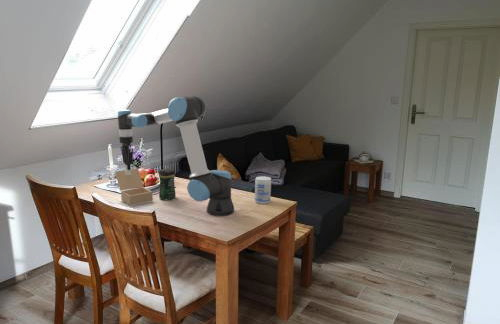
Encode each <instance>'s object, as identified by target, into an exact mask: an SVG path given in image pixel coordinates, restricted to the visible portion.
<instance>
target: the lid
mask: <svg viewBox="0 0 500 324" xmlns="http://www.w3.org/2000/svg"><path fill="white" fill-rule="evenodd" d="M114 173H115V177H116V181H117V184H118V188H119V191H120V192H121V191H125V190H130V189H136V188H141V187H144V184H143V180H142V178H141V175H140V171H139V168H131V175H126V169H123V170H118V171H115V172H114Z"/></svg>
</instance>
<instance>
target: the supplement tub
mask: <svg viewBox="0 0 500 324" xmlns="http://www.w3.org/2000/svg"><path fill="white" fill-rule="evenodd" d="M254 183H255V184H254V202H255V203H257V204H259V203H260V205H261V204H262V205H265V204H269V203H271V195H272V193H271V192H272V178H271V177H269V176H264V175H263V176H256V177H255V181H254Z"/></svg>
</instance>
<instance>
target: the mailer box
mask: <svg viewBox="0 0 500 324" xmlns="http://www.w3.org/2000/svg"><path fill="white" fill-rule="evenodd" d="M120 194H121V195H120V196H121V197H120V198H121V202H122V203H125V204H126V205H127V206H130V207H133V206H137V205H141V204H147V203H152V202H153V200H154V199H153V197H154V195H153V191H151V190H150V189H148V188H145V187H144V186H143V187H139V188H133V189H128V190H122V191H120Z"/></svg>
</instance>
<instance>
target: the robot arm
mask: <svg viewBox="0 0 500 324" xmlns="http://www.w3.org/2000/svg"><path fill="white" fill-rule="evenodd" d="M206 104H207V103H206V102H205V101H204V99H203V98H201V97H200V96H196V95H195V96H179V97H178V96H177V97H174V98H172V99H171V100H170V101H169V104H168V106H167V108H164V109H160V110H157V111H152V112H146V113H132V111H131V110H130V109H119V110H118V111H117V122H118V136H119V143H120V144H121V146H120V151H121V158H122V163H123V164H124V166H125V167H124V170H126V175H131V169H132V168H131V165H132V164H133V155H134V148H132V145H131V144H132V143H134V137H133V131H134V130H133V128H137V129H139V128H144V127H149V126H159V125H162V124H165V123H169V122H173V121H174V122H175V126H176V127H178V128H179V131H180V134H181V138H182V142H183V146H184V149H185V154H186V158H187V162H188V165H189V169H190V174H189V177H188V178H189V182H188V183H187V187H186V188H187V193H188V195H189V196H190V198H191V199H193V200H194V201H196V202H202V201H207V200H208V203H207V206H206V213H207V214H208V215H210V216H216V217H222V216H223V217H224V216H229V215H232V214H234V212H235V206H234V203H233V200H232V173H231V172H230V171H227V170H221V169H219V170H218V169H213V170H212V169H211V170H210V169H208V166H207V161H206V158H205V154H204V153H205V152H204V149H203V146H202V143H201V138H200V137H201V136H200V134H199V129H198V126H197V123H198V121H199V118H202V117H203V116H204V115H205V114H206V111H207V105H206Z"/></svg>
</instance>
